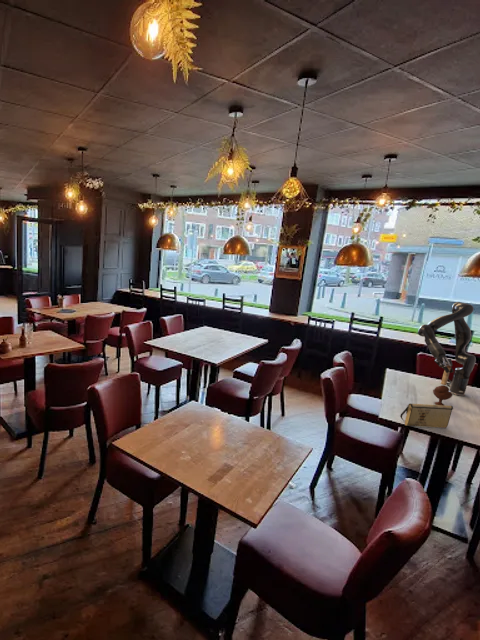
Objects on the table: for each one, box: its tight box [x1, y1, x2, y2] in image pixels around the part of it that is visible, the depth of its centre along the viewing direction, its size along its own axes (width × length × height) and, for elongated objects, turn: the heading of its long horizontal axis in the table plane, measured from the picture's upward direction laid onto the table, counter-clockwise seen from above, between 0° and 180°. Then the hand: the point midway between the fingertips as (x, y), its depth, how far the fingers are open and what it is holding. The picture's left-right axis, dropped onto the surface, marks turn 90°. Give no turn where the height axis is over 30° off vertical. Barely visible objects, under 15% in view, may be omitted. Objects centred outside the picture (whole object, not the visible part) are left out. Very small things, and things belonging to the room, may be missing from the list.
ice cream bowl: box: [432, 384, 453, 405], centre depth 245 cm, size 11×11×15 cm
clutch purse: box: [399, 403, 454, 429], centre depth 211 cm, size 30×7×15 cm, turn 92°
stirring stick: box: [440, 364, 452, 386], centre depth 240 cm, size 3×3×14 cm
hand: (450, 372), depth 238 cm, fingers closed on stirring stick, 3 cm apart
